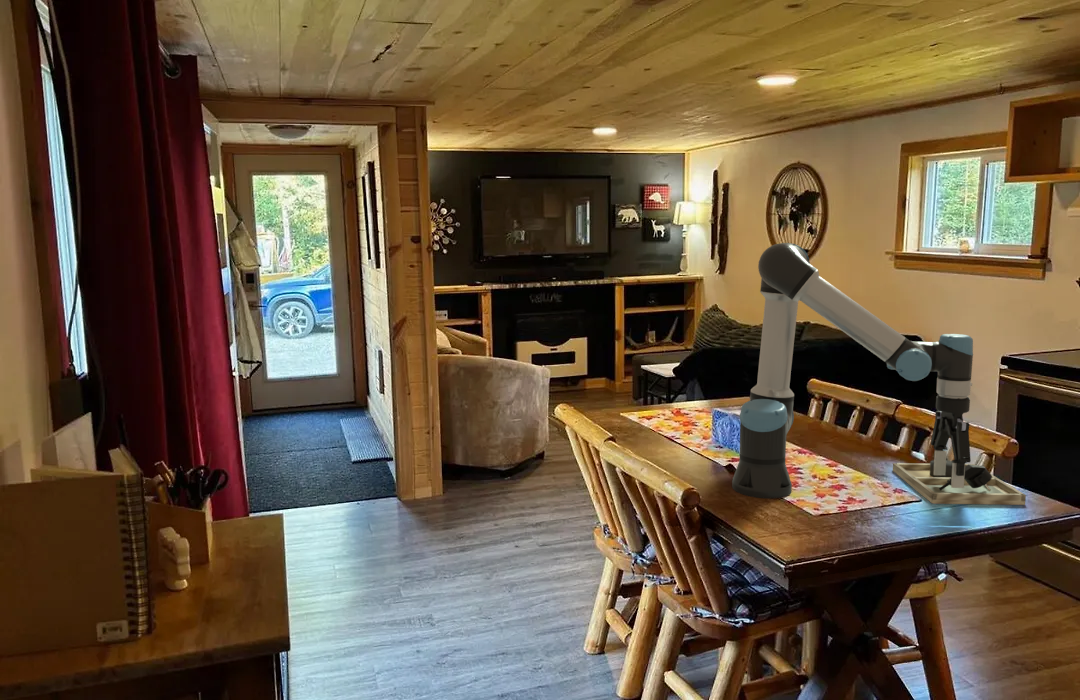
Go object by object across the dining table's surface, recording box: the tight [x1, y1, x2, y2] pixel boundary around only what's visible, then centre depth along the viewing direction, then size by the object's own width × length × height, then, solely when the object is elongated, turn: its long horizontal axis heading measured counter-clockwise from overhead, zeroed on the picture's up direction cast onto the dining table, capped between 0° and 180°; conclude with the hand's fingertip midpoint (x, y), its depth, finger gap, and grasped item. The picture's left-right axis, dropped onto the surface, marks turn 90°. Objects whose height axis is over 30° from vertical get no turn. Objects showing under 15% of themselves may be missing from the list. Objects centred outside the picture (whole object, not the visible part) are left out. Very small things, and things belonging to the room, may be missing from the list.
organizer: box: [892, 462, 1027, 506], centre depth 205 cm, size 22×27×2 cm
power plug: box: [939, 463, 993, 491], centre depth 198 cm, size 6×8×12 cm
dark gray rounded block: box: [929, 459, 952, 477], centre depth 211 cm, size 7×7×4 cm
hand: (948, 480), depth 198 cm, fingers open, 10 cm apart
